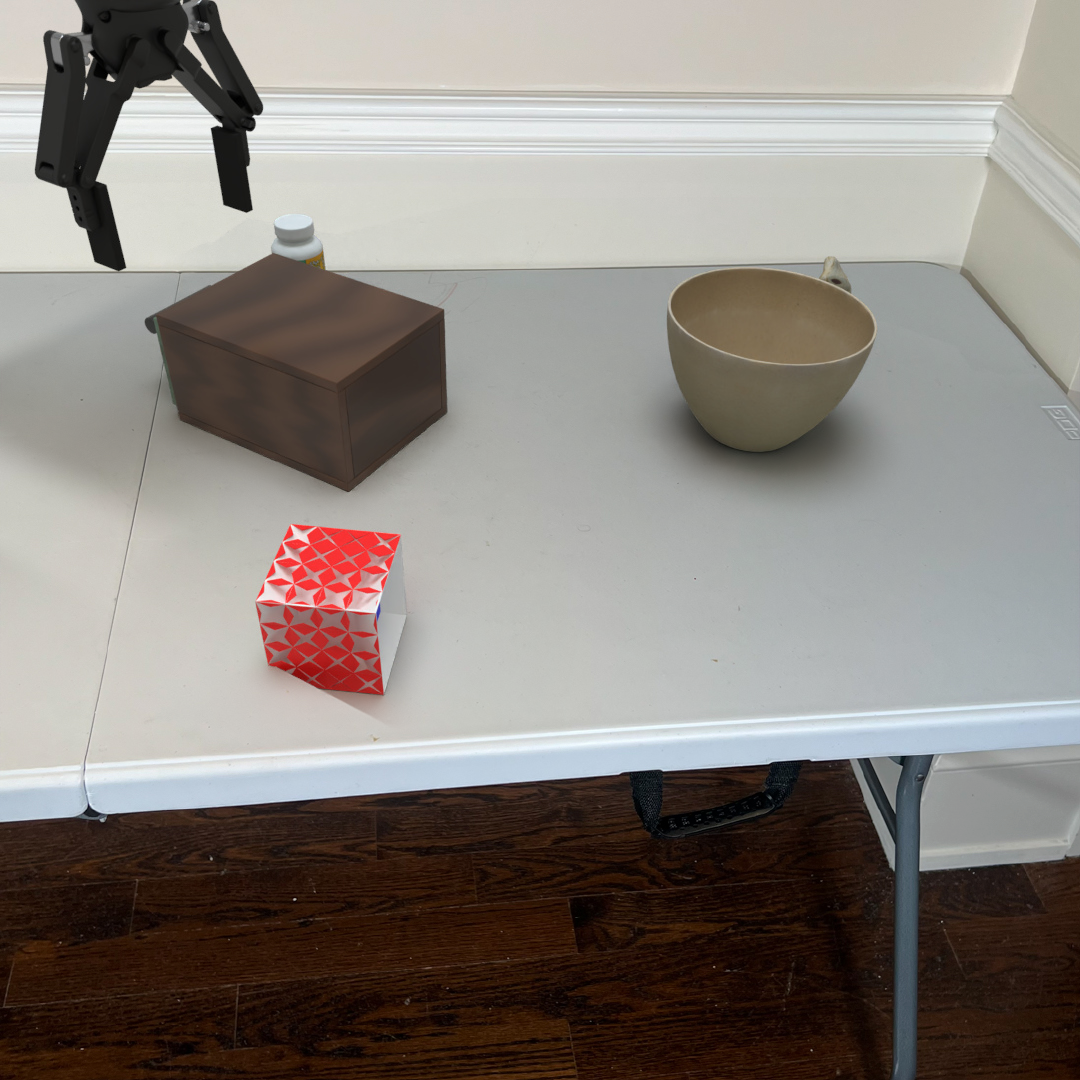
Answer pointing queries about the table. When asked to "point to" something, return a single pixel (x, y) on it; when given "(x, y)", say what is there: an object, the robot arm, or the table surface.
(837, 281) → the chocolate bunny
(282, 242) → the supplement bottle
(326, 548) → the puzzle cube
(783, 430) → the beige bowl
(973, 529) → the table surface
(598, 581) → the table surface
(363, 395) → the cabinet
